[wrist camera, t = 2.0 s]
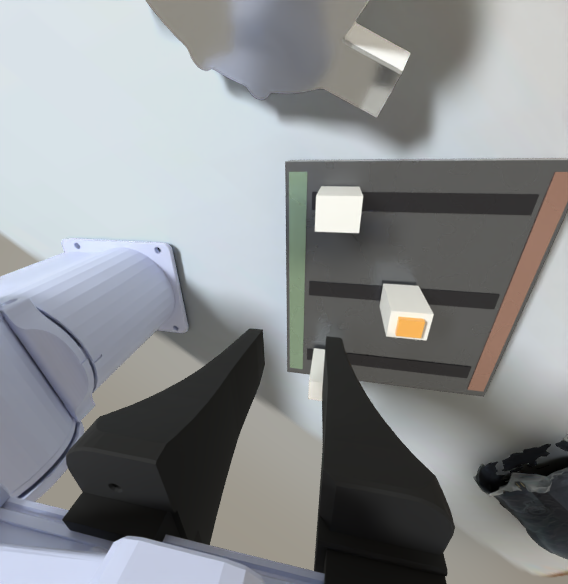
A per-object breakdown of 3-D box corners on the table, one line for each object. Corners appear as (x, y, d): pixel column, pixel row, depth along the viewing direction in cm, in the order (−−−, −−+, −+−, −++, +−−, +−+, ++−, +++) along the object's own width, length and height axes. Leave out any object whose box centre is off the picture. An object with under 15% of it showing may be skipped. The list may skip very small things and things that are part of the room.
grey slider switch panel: (291, 354, 24) (287, 372, 22) (291, 160, 17) (285, 161, 15) (472, 375, 21) (484, 397, 19) (560, 158, 14) (591, 159, 12)
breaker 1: (313, 365, 21) (308, 399, 18) (313, 348, 20) (309, 380, 17) (340, 368, 20) (339, 403, 18) (342, 351, 20) (341, 385, 17)
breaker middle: (379, 306, 18) (387, 339, 14) (383, 283, 17) (391, 313, 14) (413, 308, 17) (428, 344, 14) (418, 285, 16) (435, 317, 13)
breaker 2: (319, 216, 16) (314, 231, 13) (321, 186, 15) (316, 195, 12) (356, 217, 15) (358, 233, 13) (359, 186, 15) (363, 196, 12)
